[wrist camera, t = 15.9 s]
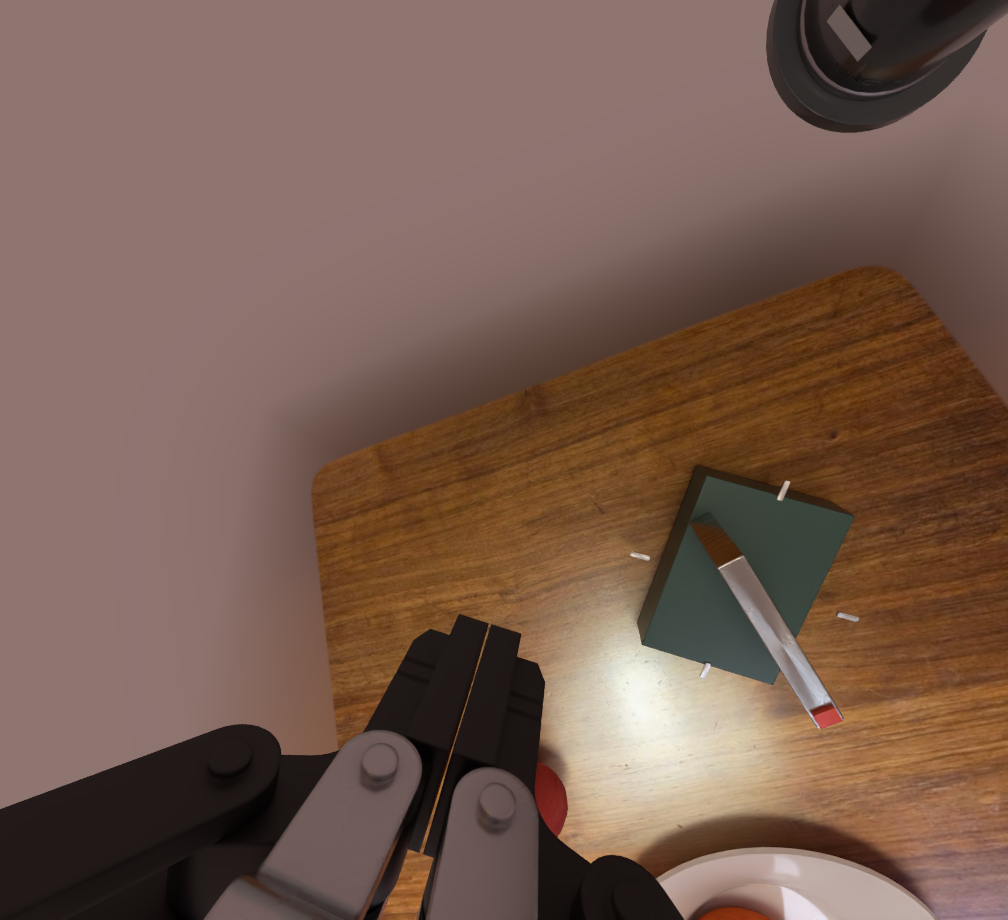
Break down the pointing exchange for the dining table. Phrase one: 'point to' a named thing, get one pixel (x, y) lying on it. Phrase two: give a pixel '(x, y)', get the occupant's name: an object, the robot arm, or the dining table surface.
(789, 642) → the upright slab
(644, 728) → the dining table surface
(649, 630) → the base block
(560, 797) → the onion
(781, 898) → the plate
